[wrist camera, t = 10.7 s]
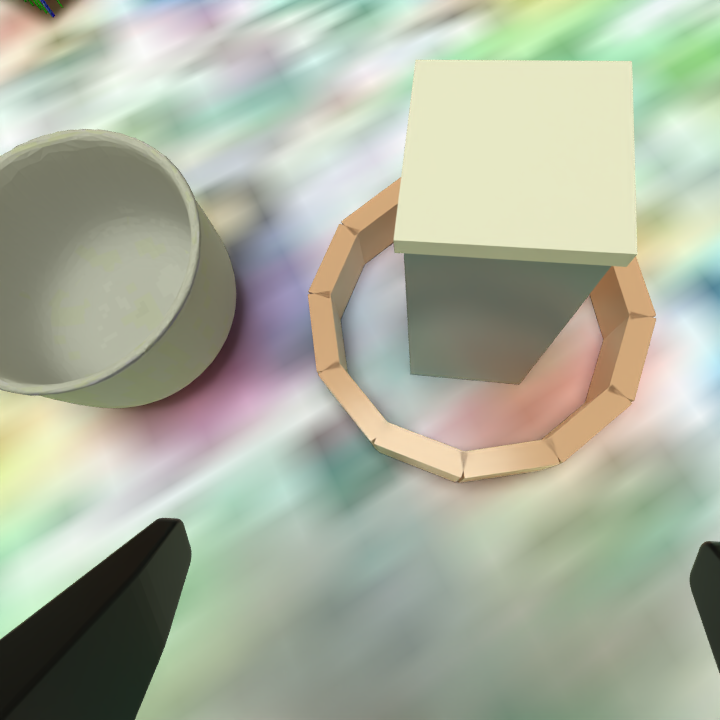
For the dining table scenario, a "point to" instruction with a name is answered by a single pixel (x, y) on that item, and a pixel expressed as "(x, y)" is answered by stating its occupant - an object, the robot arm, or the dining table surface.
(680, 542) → the dining table surface
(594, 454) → the dining table surface
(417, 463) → the tan polygonal ring
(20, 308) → the teacup
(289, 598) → the dining table surface
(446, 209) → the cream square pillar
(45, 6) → the brown flat block
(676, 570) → the dining table surface
